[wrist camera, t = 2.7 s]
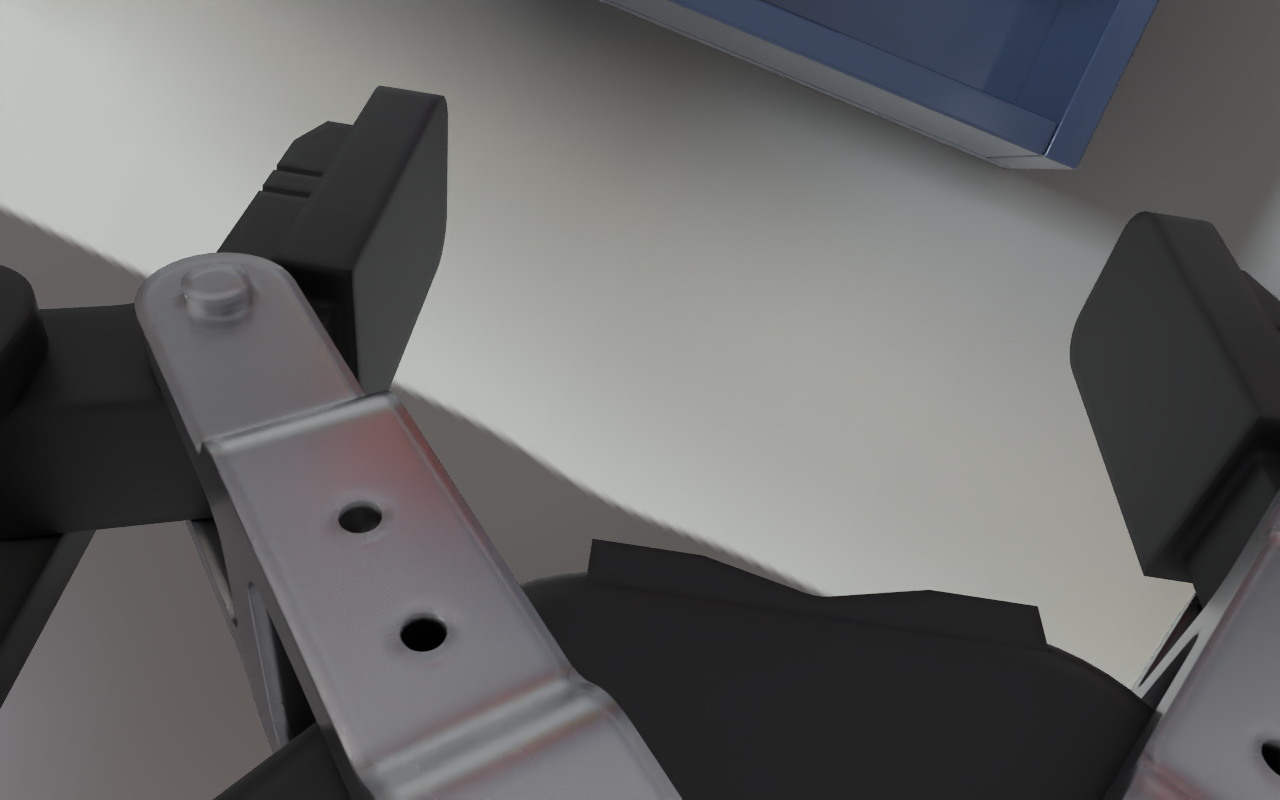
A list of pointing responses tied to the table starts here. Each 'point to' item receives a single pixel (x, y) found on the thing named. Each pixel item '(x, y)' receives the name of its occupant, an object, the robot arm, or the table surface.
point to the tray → (938, 62)
